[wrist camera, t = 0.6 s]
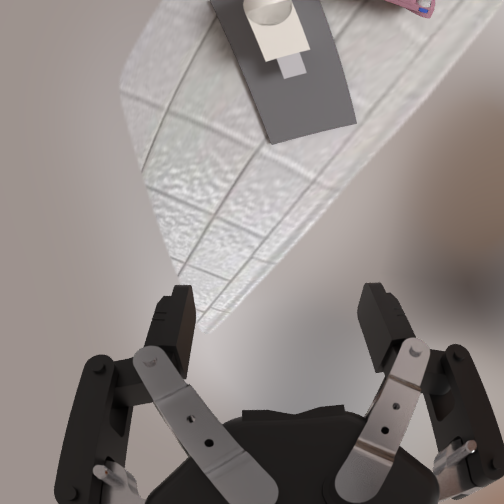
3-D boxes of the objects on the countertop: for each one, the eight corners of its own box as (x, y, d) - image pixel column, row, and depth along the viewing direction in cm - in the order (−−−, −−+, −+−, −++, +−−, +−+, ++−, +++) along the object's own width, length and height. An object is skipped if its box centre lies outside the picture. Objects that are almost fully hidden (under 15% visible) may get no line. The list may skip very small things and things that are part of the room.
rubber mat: (211, 0, 22) (209, 0, 22) (306, -28, 19) (307, -29, 19) (271, 143, 34) (271, 144, 33) (355, 121, 31) (356, 123, 30)
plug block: (242, -3, 22) (236, -7, 18) (281, -14, 21) (282, -21, 17) (275, 75, 28) (275, 85, 24) (312, 66, 26) (318, 74, 23)
